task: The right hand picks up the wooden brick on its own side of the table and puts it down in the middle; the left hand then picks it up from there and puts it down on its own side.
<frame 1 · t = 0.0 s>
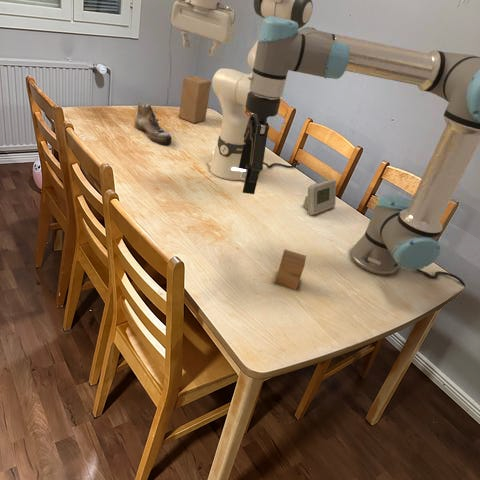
left hand: (198, 51, 131), 48 cm above the table, tool pointing down, fingers open, 8 cm apart
right hand: (246, 180, 109), 28 cm above the table, tool pointing down, fingers open, 13 cm apart
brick: (286, 281, 125), on the table
wooden block: (192, 119, 226), on the table
shoe: (153, 135, 198), on the table
digital clock: (317, 209, 167), on the table
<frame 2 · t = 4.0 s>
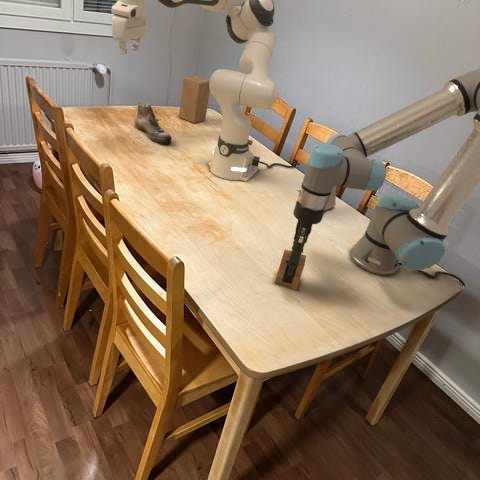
left hand: (129, 51, 155), 38 cm above the table, tool pointing down, fingers open, 8 cm apart
right hand: (288, 276, 124), 2 cm above the table, tool pointing down, fingers closed on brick, 5 cm apart
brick: (286, 281, 125), on the table, touching right hand
everything else where it was.
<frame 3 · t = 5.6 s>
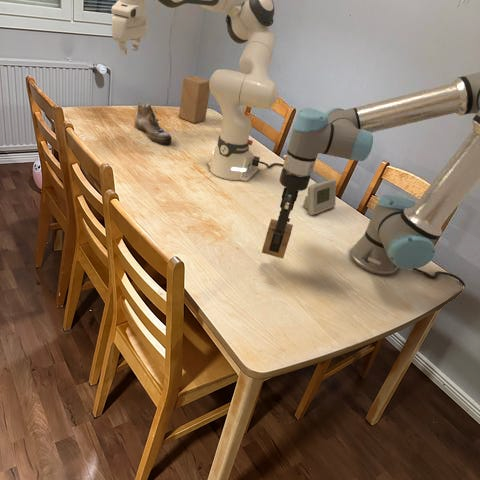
left hand: (129, 51, 155), 38 cm above the table, tool pointing down, fingers open, 8 cm apart
right hand: (275, 245, 125), 8 cm above the table, tool pointing down, fingers closed on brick, 5 cm apart
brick: (273, 251, 126), point 6 cm above the table, touching right hand
everything else where it was.
when the right hand's fingers open (4 cm above the table, at t = 7.4 s): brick drops 2 cm, on the table.
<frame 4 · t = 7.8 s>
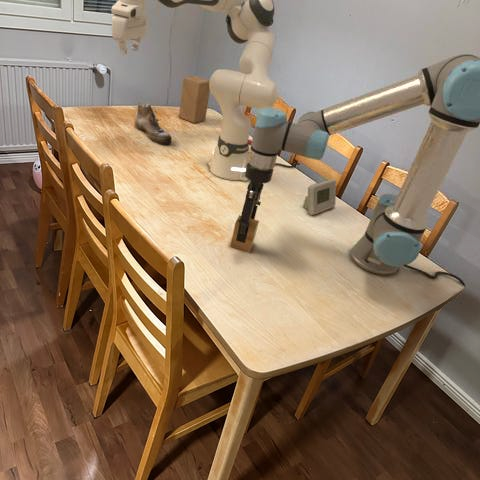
left hand: (129, 51, 155), 38 cm above the table, tool pointing down, fingers open, 8 cm apart
right hand: (244, 231, 133), 5 cm above the table, tool pointing down, fingers open, 11 cm apart
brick: (241, 245, 136), on the table
everything else where it was.
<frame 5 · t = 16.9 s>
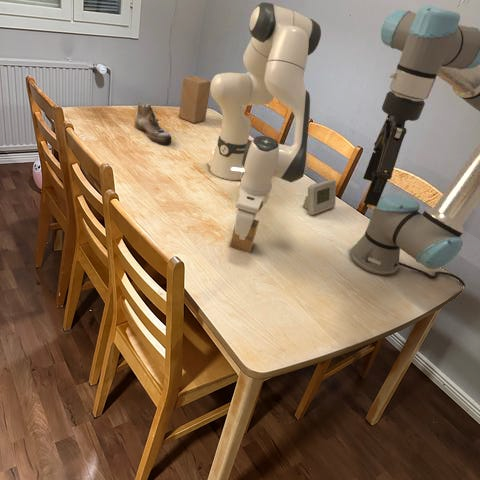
left hand: (244, 233, 134), 4 cm above the table, tool pointing down, fingers closed on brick, 5 cm apart
right hand: (369, 191, 98), 36 cm above the table, tool pointing down, fingers open, 13 cm apart
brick: (241, 245, 136), on the table, touching left hand
everything else where it was.
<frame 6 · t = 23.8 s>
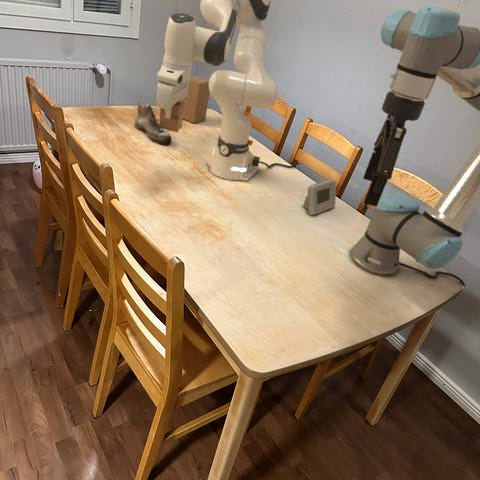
left hand: (171, 115, 144), 26 cm above the table, tool pointing down, fingers closed on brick, 5 cm apart
right hand: (369, 191, 98), 36 cm above the table, tool pointing down, fingers open, 13 cm apart
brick: (170, 127, 147), point 22 cm above the table, touching left hand
everything else where it was.
when the left hand's fingers open (6 cm above the table, at t = 30.7 s): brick drops 2 cm, on the table.
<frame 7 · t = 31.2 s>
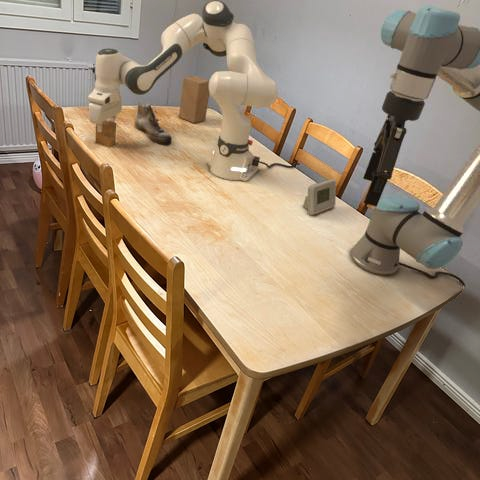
left hand: (105, 128, 177), 6 cm above the table, tool pointing down, fingers open, 8 cm apart
right hand: (369, 191, 98), 36 cm above the table, tool pointing down, fingers open, 13 cm apart
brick: (105, 143, 181), on the table
everything else where it was.
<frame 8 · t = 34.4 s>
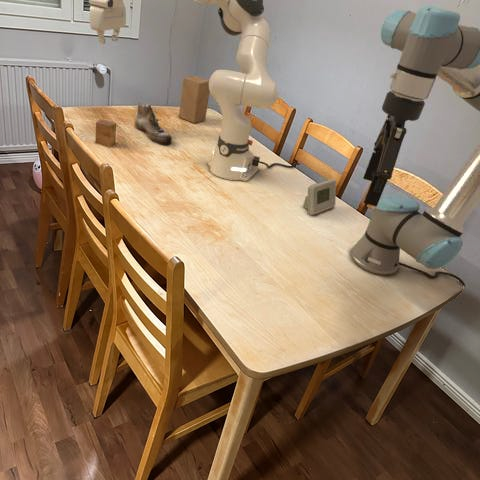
left hand: (108, 42, 160), 39 cm above the table, tool pointing down, fingers open, 8 cm apart
right hand: (369, 191, 98), 36 cm above the table, tool pointing down, fingers open, 13 cm apart
nothing on the table moved.
at the end: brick inside the target area (0.1 cm from its centre), on the table; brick tilted 0°; the two hands never held the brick at the same time; the left hand is holding nothing; the right hand is holding nothing; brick at rest at the end (0.0 cm/s) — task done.
